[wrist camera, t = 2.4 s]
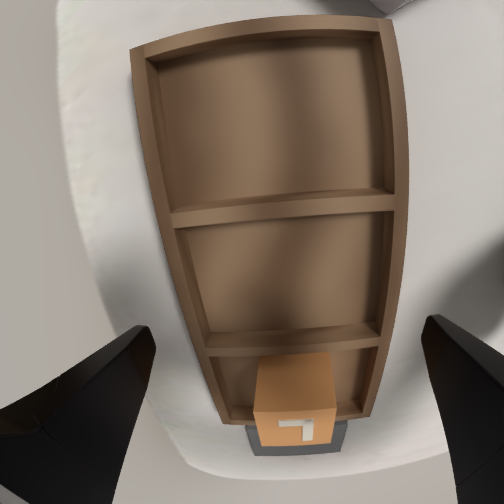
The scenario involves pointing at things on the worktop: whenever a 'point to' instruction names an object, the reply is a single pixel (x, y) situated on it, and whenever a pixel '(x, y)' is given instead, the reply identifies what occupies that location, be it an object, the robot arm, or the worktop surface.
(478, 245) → the worktop surface
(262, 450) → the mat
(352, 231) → the organiser
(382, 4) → the charger
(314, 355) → the letter cube
